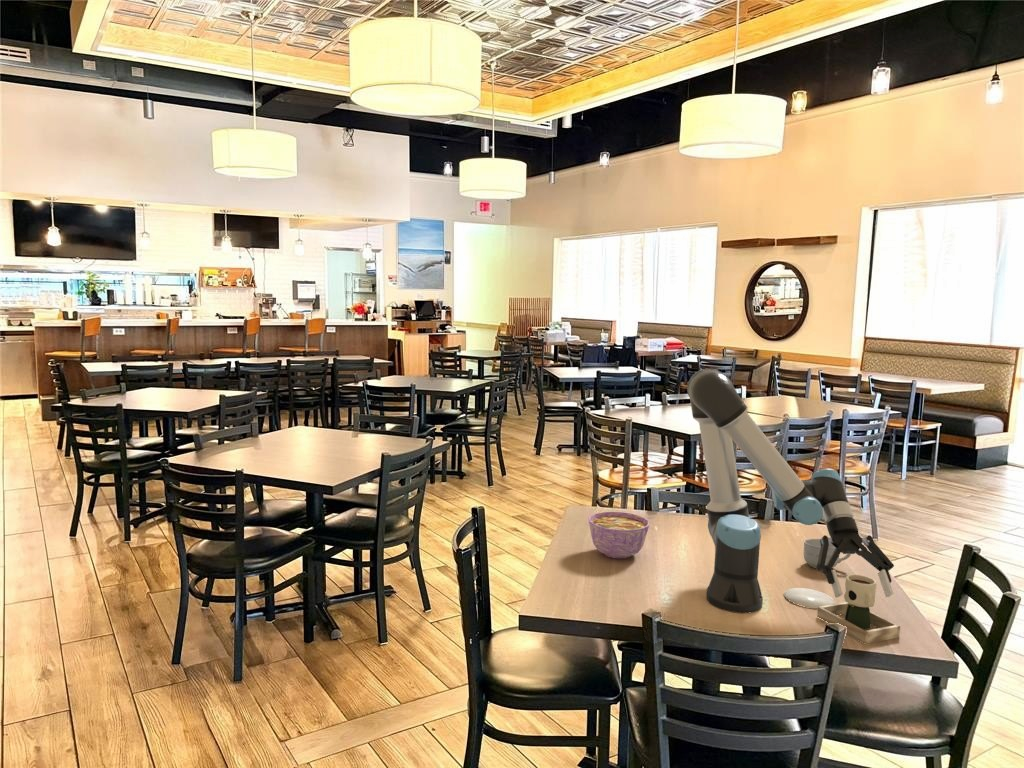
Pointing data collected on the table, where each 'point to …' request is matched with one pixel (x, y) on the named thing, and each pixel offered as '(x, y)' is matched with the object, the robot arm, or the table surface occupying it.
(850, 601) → the character mug
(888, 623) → the wooden tray
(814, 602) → the white saucer
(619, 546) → the bowl of food
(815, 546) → the teacup
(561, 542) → the table surface
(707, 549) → the table surface
